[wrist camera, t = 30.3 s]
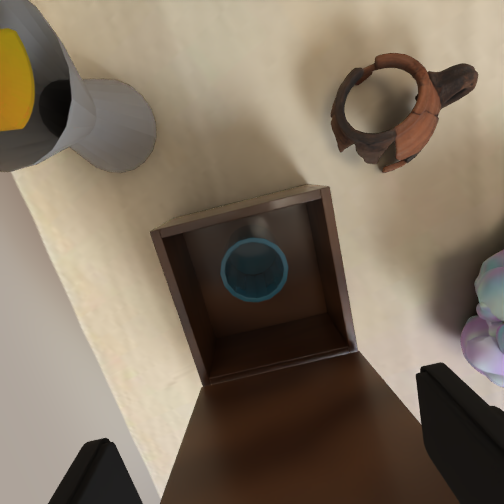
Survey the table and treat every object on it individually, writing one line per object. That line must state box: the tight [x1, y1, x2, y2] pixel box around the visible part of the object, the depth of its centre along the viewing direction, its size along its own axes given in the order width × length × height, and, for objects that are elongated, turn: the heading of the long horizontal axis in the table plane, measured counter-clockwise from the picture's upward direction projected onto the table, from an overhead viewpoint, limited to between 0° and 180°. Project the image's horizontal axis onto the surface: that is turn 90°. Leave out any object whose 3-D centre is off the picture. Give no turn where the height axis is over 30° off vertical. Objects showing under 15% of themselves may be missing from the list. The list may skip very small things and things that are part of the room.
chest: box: [150, 184, 358, 387], centre depth 29 cm, size 16×15×8 cm
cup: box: [220, 225, 289, 302], centre depth 28 cm, size 6×6×7 cm
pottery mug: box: [331, 53, 478, 173], centre depth 27 cm, size 12×10×8 cm
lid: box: [160, 351, 460, 504], centre depth 19 cm, size 16×15×5 cm
